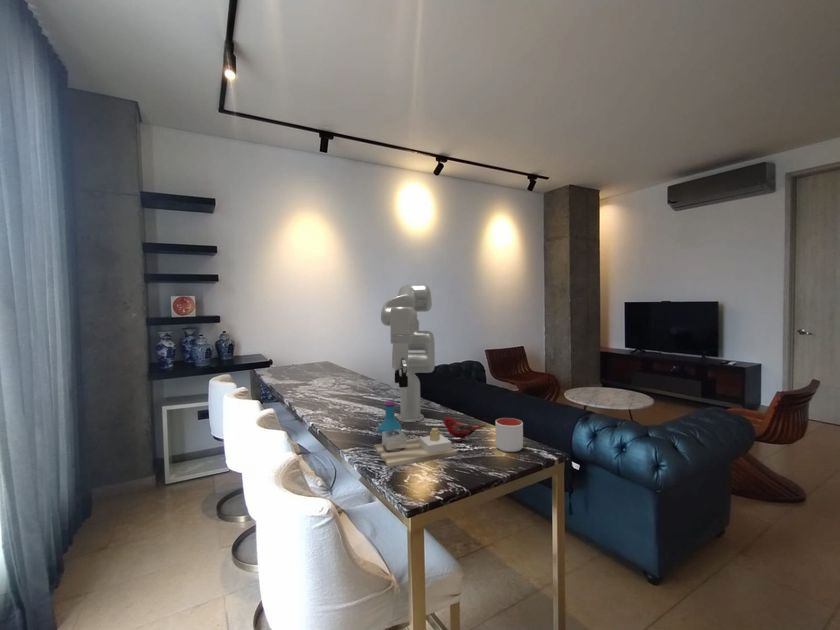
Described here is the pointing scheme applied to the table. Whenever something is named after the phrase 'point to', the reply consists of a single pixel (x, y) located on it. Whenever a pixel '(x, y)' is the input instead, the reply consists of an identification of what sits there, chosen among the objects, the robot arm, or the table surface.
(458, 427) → the decorative bird figurine
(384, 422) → the perfume bottle
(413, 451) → the board
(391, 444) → the steel collar
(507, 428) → the cup
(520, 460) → the table surface
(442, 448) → the block
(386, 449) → the rod stand
